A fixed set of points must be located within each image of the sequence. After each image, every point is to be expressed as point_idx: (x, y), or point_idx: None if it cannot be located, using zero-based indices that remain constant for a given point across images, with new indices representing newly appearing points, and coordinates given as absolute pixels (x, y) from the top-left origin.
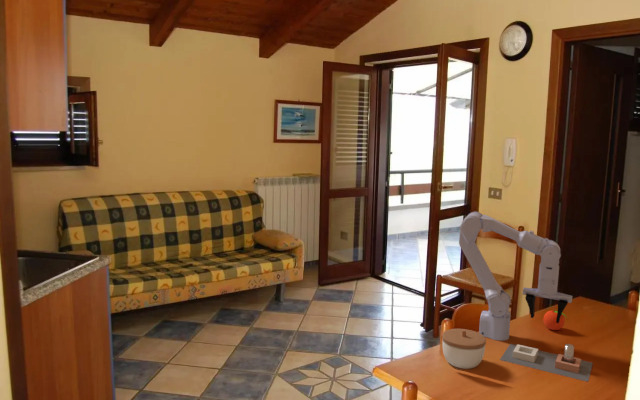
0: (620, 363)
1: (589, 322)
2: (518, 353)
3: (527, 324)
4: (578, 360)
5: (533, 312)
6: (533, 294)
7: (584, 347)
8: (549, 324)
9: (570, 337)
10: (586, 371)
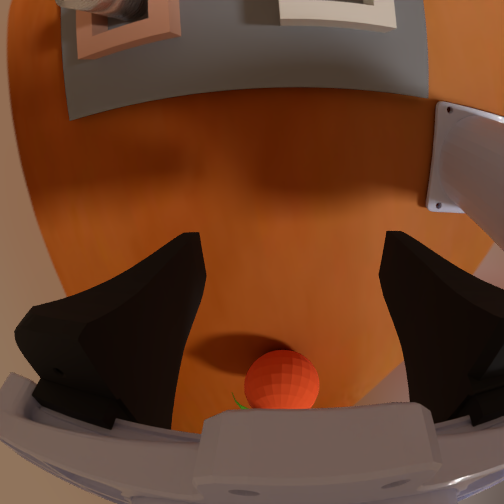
0: (39, 207)
1: (208, 417)
2: None
3: (366, 353)
4: (83, 33)
5: (399, 271)
6: (476, 429)
7: None
8: (292, 358)
9: (216, 327)
10: (71, 24)
